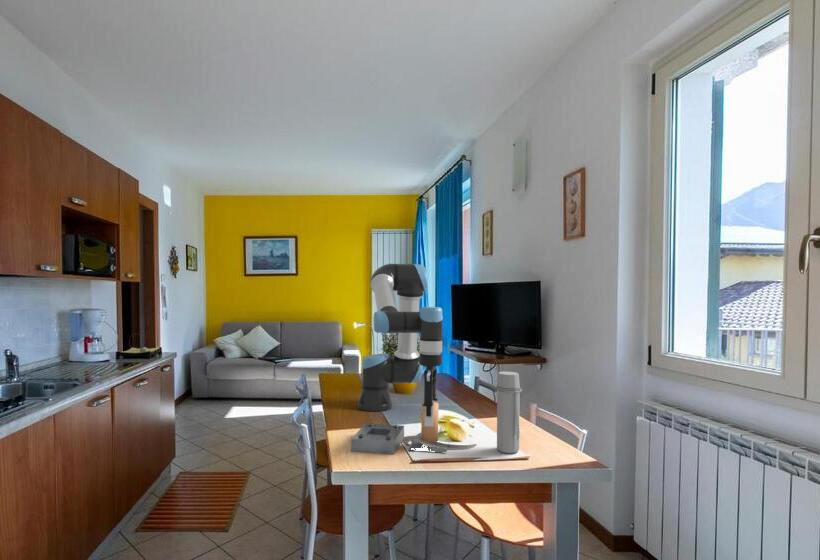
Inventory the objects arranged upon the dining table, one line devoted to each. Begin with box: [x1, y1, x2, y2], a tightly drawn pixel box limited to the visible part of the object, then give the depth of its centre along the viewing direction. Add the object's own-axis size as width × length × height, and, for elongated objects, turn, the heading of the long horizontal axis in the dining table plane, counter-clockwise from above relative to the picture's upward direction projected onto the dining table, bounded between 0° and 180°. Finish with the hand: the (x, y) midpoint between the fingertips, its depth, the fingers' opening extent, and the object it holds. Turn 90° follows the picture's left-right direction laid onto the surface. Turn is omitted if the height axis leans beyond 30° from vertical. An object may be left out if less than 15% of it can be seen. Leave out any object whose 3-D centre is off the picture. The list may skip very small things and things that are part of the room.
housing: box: [350, 423, 405, 455], centre depth 154 cm, size 18×14×5 cm
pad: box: [408, 438, 448, 452], centre depth 152 cm, size 12×12×1 cm
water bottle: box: [496, 371, 523, 454], centre depth 148 cm, size 9×8×25 cm
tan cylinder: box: [420, 400, 440, 442], centre depth 152 cm, size 6×6×13 cm
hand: (429, 423), depth 152 cm, fingers closed on tan cylinder, 6 cm apart
